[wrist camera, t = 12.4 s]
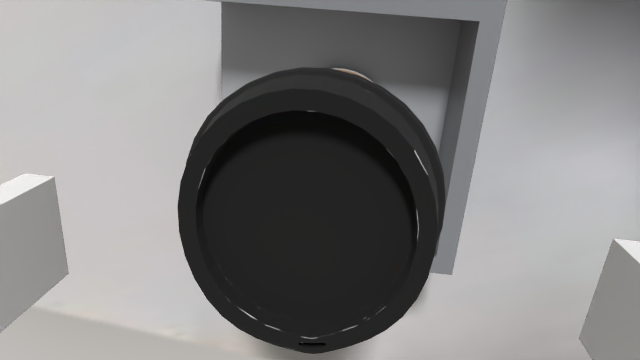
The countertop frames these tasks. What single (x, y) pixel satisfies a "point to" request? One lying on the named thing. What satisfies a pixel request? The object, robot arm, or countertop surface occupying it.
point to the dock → (384, 67)
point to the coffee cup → (312, 208)
